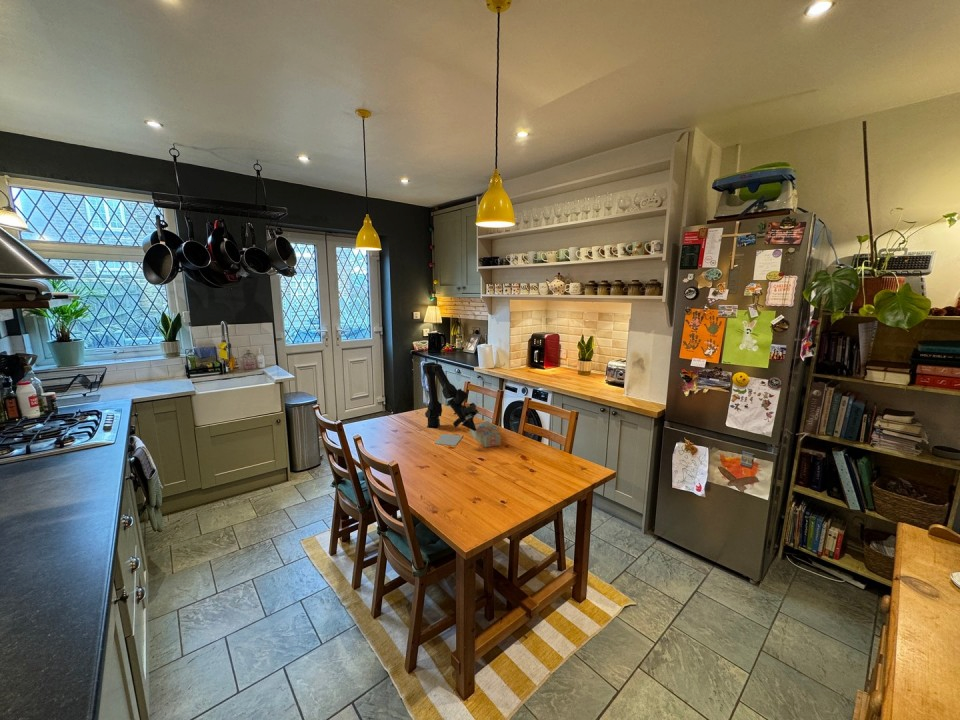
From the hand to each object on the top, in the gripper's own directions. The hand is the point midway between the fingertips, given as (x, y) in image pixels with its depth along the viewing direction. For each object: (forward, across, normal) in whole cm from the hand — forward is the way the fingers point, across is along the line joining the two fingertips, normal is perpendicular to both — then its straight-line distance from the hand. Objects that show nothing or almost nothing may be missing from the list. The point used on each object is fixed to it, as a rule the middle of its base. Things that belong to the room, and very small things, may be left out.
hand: (475, 430), depth 210 cm
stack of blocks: (+2, +3, +4) cm, 6 cm away
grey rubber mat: (-5, -3, +16) cm, 17 cm away
